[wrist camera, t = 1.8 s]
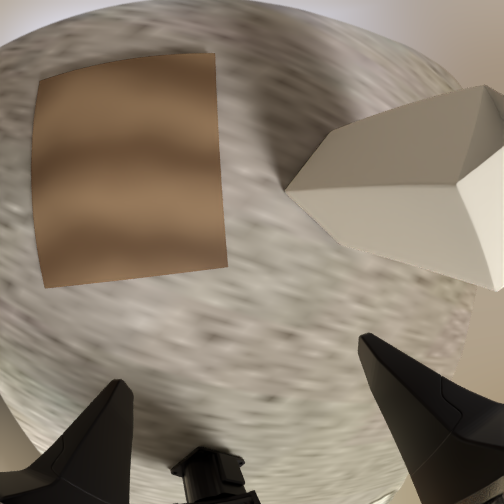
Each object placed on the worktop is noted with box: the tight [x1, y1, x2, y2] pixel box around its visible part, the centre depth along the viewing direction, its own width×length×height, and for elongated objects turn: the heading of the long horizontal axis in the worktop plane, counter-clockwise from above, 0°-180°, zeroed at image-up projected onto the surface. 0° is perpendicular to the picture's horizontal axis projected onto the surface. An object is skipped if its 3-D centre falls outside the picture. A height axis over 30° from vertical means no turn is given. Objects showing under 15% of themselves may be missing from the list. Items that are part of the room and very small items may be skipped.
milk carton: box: [285, 85, 504, 292], centre depth 13 cm, size 7×7×19 cm
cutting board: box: [31, 53, 228, 288], centre depth 16 cm, size 16×14×2 cm
